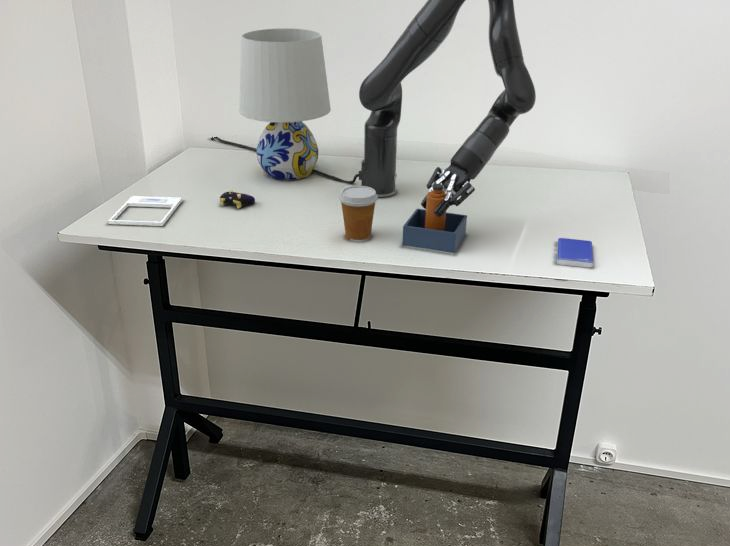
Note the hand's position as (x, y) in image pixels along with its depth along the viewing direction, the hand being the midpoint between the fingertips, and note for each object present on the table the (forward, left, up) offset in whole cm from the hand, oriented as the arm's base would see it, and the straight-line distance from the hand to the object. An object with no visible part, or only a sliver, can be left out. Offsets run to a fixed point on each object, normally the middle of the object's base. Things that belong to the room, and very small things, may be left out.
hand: (430, 210), depth 174 cm
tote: (+1, +1, -8) cm, 9 cm away
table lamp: (-55, +35, -9) cm, 66 cm away
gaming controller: (-58, +6, -9) cm, 59 cm away
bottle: (+1, +1, -5) cm, 6 cm away
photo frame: (-78, -8, -9) cm, 79 cm away
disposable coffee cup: (-18, -3, -9) cm, 20 cm away
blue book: (+35, +5, -9) cm, 37 cm away
